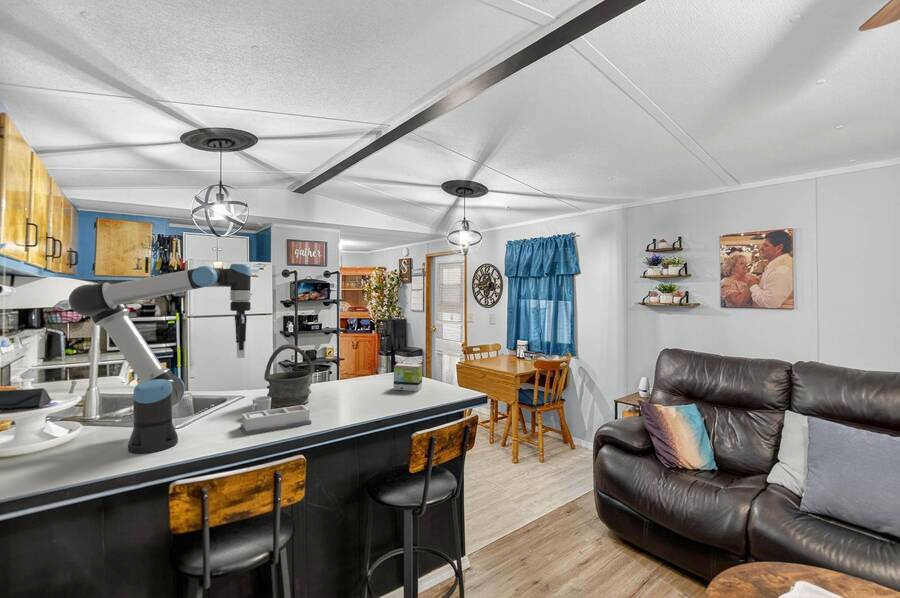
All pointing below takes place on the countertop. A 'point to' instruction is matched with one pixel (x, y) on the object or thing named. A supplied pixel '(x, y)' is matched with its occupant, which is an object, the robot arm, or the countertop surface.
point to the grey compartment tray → (275, 419)
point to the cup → (261, 403)
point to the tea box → (408, 376)
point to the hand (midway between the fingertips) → (240, 357)
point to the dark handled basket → (288, 382)
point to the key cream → (255, 415)
